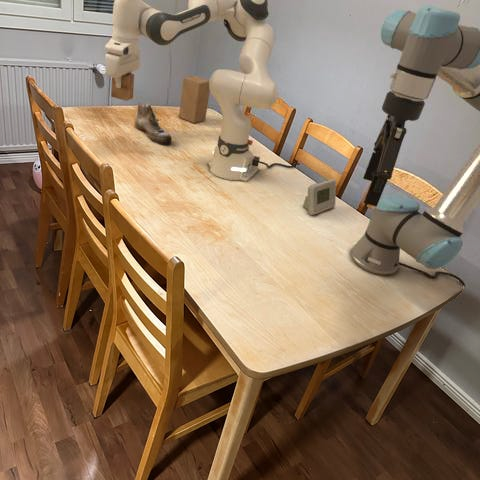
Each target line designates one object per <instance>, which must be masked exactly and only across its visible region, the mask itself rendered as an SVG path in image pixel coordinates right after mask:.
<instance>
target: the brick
mask: <svg viewBox="0 0 480 480" xmlns="http://www.w3.org/2000/svg"><path fill="white" fill-rule="evenodd" d="M121 82H122V87H121V88H117V87H116V81H115V78H113V77H111V91H110V92H111V93H110V96H111V98H113V99H114V98H115V99H118V100H122V101H126V102H128V101H130V100H132V99H134V86H135V85H134V84H135V73H132V74H131V73H128V74H125V75H122V78H121Z"/></svg>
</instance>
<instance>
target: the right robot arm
mask: <svg viewBox="0 0 480 480" xmlns="http://www.w3.org/2000/svg"><path fill="white" fill-rule="evenodd" d="M460 21H461V15H460V13H459V12H456V11H452V10H448V9H444V8H439V7H435V6H431V5H422V6H421V7H420V8H419V9H418V11H417V12H412V11H411V10H403V9H396V10H394V11H392V12H391V13H389V14H388V15H387V16H386V18H385V19H384V21H383V23H382V25H381V28H380V39H381V41H382V43H383V44H384V45H385V46H387V47H390V48H391V49H392V50H393V49H394V50H398V51H400V52H401V55H400V58H399V61H398V63H397V66H396V69H395V72H392V73H390V76H389V77H390V79H392V80H391V82H390V85H389V90H390V91H388V92H386V95H385V98H384V99H383V100H384V101H383V104H382V106H381V110H382V112H383V113H385V114H387V115H386V119H385V121H384V123H383V125H382V127H381V128H380V131H379V134H378V135H377V138H376V140H375V142H374V143H373V145H374V147H373V151H372V154H371V156H370V159H369V161H368V164H367V166H366V170H365V172H364V174H363V180H366V181H369V182H370V185H369V187H368V190H367V193H366V195H365V197H364V200H363V204H365V205H369V206H373V207H374V209H373V211H372V214H371V217H370V219H369V222H368V225H367V227H366V230H365V232H364V234H363V235H362V236H361V238H359V240H358V241H357V242H356V243H355V244H354V246H352V249H351V251H350V258H351V259H352V260H351V261H353V262H354V263H355V264H356V265H357V266H358V267H359V268H361V269H363V270H364V271H366V272H368V273H371V274H374V275H379V276H391V275H394V274H395V273H396V272H397V270H398V269H399V266H401V267H404V268H406V269H409V270H412V271H415V272H418V273H419V274H423V275H425V276H427V277H428V278H430V279H438V276H439V275H444V276H449V277H451V278H454V279H456V280H457V281H458V282H459V283H460V284H461V285H462V286H463V287H466V284H465V282H464V281H463V280H462V278H460V277H459V276H457V275H456V274H453V273H450V272H446V271H440V270H439V271H436V272H435V273H434V275H433V274H432V275H431V274H430V273H428V272H426V271H424V270H421V269H419V268H416V267H414V266H411V265H408V264H406V263H402V262H400V256H401V255H400V254H401V250H402V251H403V252H404V253H406V254H407V255H409V257H411V258H413V260H415V261H416V262H417V263H419V264H420V265H422V266H424V267H425V268H427V269H430V270H435V269H439V268H442V267H443V266H446V265H447V264H449V263H450V262H451V261H453V259H454V258H455V257H456V256H457V255H458V254H459V253H460V252H461V250H462V247H464V246H463V245H464V241H463V240H462V238H461V236H462V235H463V233H464V227H463V224H464V222H465V221H466V219H467V218H468V217H469V216H470V214H471V213H472V212H473V210H474V209H475V207H476V206H477V205H478V204H479V202H480V142H479V143H478V144H477V146H476V147H475V148H474V150H473V151H472V153H470V156H469V157H468V158H467V160H466V161H465V163H464V164H463V166H462V167H461V168H460V170H459V171H458V173H457V174H456V175H455V177H454V178H453V179H452V181H451V182H450V184H449V185H448V186H447V188H446V189H445V191H444V192H443V193H442V195H441V196H440V198H439V199H438V200H437V202H436V203H435V205H434V206H433V207H430V208H427V209H425V210H424V211H423V212H422V213H421V212H420V211H419V210H420V208H421V206H420V203H419V202H418V201H417V200H416V199H413V198H411V197H408V196H406V195H402V194H401V195H400V194H394V193H392V194H391V193H390V194H389V193H388V194H383V193H384V190H385V188H386V185H387V183H388V181H389V180H392V177H393V172H394V169H395V167H396V163H397V160H398V157H399V155H400V150H401V147H402V144H403V141H404V138H405V137H406V134H407V131H408V130H407V128H406V127H405V126H406V122H407V121H411V122H415V121H417V120H419V119H420V117H421V114H422V112H423V110H424V108H425V105H426V103H425V100H427V99H428V98H429V96H430V94H431V91H432V89H433V87H434V84H435V82H436V79H437V77H438V78H440V79H441V80H443V81H444V82H445V83H447V84H448V85H449V86H451V87H452V90H453V92H454V94H455V95H457V96H458V97H460V98H461V99H462V100H463V101H465V102H466V103H467V104H468V105H470V106H471V107H472V108H473V109H475V110H477V111H479V112H480V29H479V28H478V27H474V26H466V25H462V24H459V23H460ZM382 194H383V195H382Z"/></svg>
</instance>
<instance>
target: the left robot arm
mask: <svg viewBox="0 0 480 480" xmlns="http://www.w3.org/2000/svg"><path fill="white" fill-rule="evenodd" d="M268 3H269V1H268V0H188V3H187V8H188V9H186V10H182V11H180V12H177V13H175V14H171V13H167V12H163V11H160V10H158V9H156V8H154V7H152V6H151V5H149V4H148V3H146V2H144V1H143V0H114V1H113V8H112V25H113V28H112V32H111V38H110V40H109V41H108V42H107V43H106V44H105V45H104V52H106V54H105V61H104V67H105V69H104V70H105V71H104V72H105V74H106V77H110V78H112V77H113V78H115V81H116V87H117V88H121V87H122V82H121V78H122V75H125V74H128V73H131V74H133V73H134V72H136V71H139V69H140V67H141V52H140V50H139V37H140V36H143V37H145V38H147V39H149V40H151V41H152V42H153V43H155V44H156V45H158V46H168V45H170V44H171V43H173V42H174V41H175V40H176V39H177V38H178V37H180V36H181V35H183V34H185V33H188V32H190V31H192V30H196V29H197V28H200V27H202V26H204V25H206V24H208V23H211V22H215V21H218V20H221V19H223V25H224V28H226V31H227V33H228V34H229V35H230V37H231V38H232V39H234V40H235V41H236V42H240V43H241V42H244V43H243V45H242V49H241V50H240V54H239V56H238V65H239V67H240V70H241V71H242V72H241V71H237V70H232V69H224V68H223V69H220V68H219V69H216V70H215V71H214V72H213V73H212V74H211V76H210V78H209V88H210V92H209V93H210V94H211V96H213V98H214V99H215V100H216V102H217V103H218V105H219V108H220V111H221V112H220V113H221V127H220V135H219V136H218V139H217V145H216V146H215V147H214V149H213V151H212V157H211V160H209V161H208V164H207V165H208V166H209V170H210V172H211V173H212V174H213V175H215V176H216V177H218V178H220V179H225V180H229V181H242V182H247V181H249V179H251V177H253V176H254V175H255V174H256V173H257V172H258V171H259V164H262V165H264V166H266V168H268V169H270V168H272V167H274V166H281V167H285V168H290V169H291V168H295V167H296V166H297V165H298V166H300V163H299V162H295V163H294V164H293V165H287V164H284V163H280V162H274V163H271V164H270V165H269V164H268V163H266V162H264V161H261V160H260V159H261V157H260V156H256V155H254V154H253V153H252V152H251V151H250V146H252V145H253V143H254V141H253V140H251V139H249V138H250V133H251V128H252V122H251V119H250V118H249V117H248V116H247V115H246V114H245V113H244V112H243V111H242V109H241V108H240V107H241V106H243V107H248V108H252V109H256V110H270V109H271V108H273V107H274V106H275V105H276V103H277V101H278V100H279V99H278V98H279V89H278V86H277V84H276V83H275V82H274V81H273V80H272V78H271V77H270V75H269V71H268V67H269V63H270V59H271V56H272V53H273V49H274V45H275V30H274V28H273V27H272V26H271V25H270V24H268V23H267V22H266V19H267V18H268V17H269V10H268V5H269V4H268Z"/></svg>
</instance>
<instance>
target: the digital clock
mask: <svg viewBox="0 0 480 480" xmlns="http://www.w3.org/2000/svg"><path fill="white" fill-rule="evenodd" d="M336 189H337V185H336V179H334V178H330V179H325V180H321V181H319V182H315V183H314V184H311V185H309V186H308V187H307V196H305V198H304V201H303V204H302V207H303V208H304V209H307V213H308V214H309V215H310V216H313V215H317V214H320V213H322V212H325V211H328V210H329V209H331V208H334V207H335V206H336V201H337V198H336V196H337V195H336V194H337V190H336Z"/></svg>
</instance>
